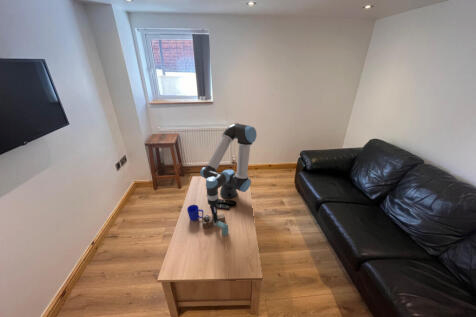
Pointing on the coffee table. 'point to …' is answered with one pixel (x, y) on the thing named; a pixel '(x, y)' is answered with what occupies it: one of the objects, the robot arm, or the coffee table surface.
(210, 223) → the link
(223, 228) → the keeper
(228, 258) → the coffee table surface
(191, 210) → the mug
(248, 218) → the coffee table surface
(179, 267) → the coffee table surface
